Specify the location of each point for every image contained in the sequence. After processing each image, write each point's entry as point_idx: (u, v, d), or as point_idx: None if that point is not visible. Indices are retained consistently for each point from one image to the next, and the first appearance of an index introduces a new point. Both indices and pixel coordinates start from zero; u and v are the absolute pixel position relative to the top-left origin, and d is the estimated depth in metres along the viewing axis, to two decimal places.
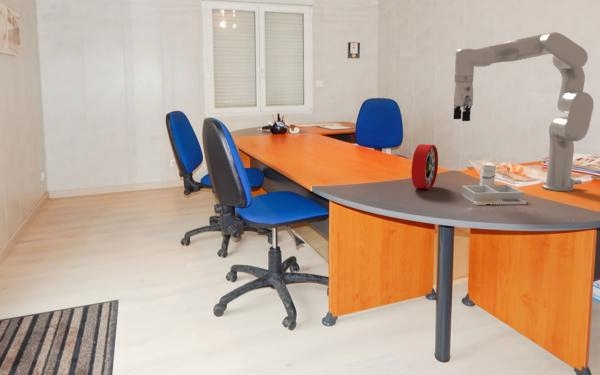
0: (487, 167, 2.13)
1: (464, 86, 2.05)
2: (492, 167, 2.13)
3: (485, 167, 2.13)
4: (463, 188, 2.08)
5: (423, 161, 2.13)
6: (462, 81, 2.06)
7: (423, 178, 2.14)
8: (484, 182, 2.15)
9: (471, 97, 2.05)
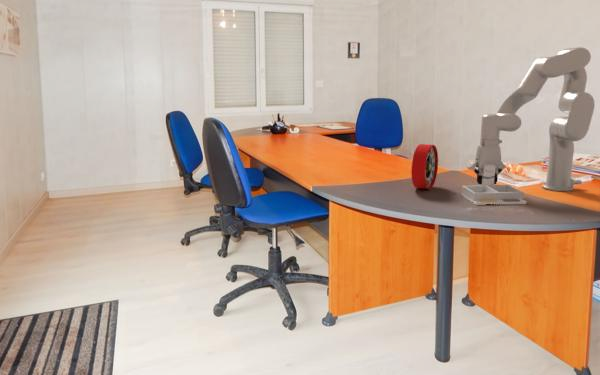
0: (487, 167, 2.13)
1: None
2: (492, 167, 2.13)
3: (485, 167, 2.13)
4: (463, 188, 2.08)
5: (423, 161, 2.13)
6: (498, 145, 2.13)
7: (423, 178, 2.14)
8: (484, 182, 2.15)
9: None
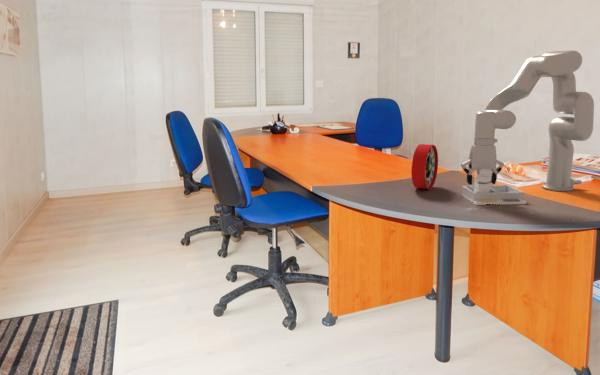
0: (483, 172, 1.98)
1: (495, 149, 1.99)
2: (488, 172, 1.98)
3: (481, 172, 1.98)
4: (463, 188, 2.08)
5: (423, 161, 2.13)
6: (493, 144, 1.98)
7: (423, 178, 2.14)
8: (480, 188, 2.00)
9: None
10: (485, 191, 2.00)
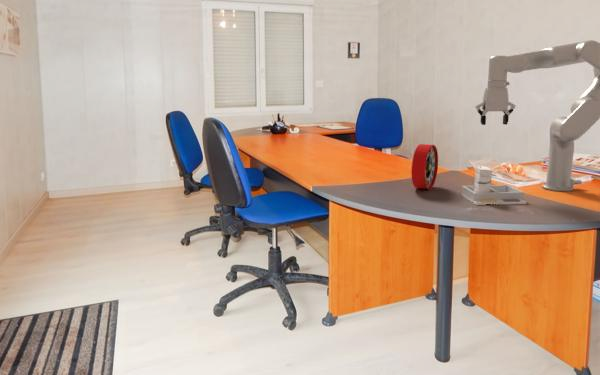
0: (483, 172, 1.98)
1: (507, 91, 2.15)
2: (488, 171, 1.98)
3: (481, 172, 1.98)
4: (463, 188, 2.08)
5: (423, 161, 2.13)
6: (505, 87, 2.14)
7: (423, 178, 2.14)
8: (480, 188, 2.00)
9: None
10: (485, 191, 2.00)
